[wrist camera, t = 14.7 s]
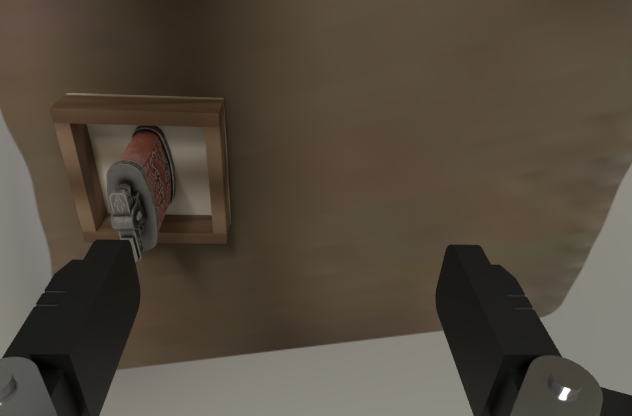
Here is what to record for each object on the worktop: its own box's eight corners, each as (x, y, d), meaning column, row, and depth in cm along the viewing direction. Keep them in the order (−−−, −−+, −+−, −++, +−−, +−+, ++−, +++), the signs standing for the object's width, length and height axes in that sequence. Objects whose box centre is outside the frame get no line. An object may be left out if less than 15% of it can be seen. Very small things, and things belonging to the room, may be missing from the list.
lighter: (127, 124, 41) (85, 181, 33) (167, 123, 41) (135, 180, 33) (145, 203, 46) (112, 272, 37) (181, 202, 46) (156, 271, 37)
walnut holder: (67, 93, 40) (49, 108, 37) (223, 97, 41) (218, 113, 38) (98, 220, 47) (85, 242, 44) (230, 222, 48) (227, 243, 45)
